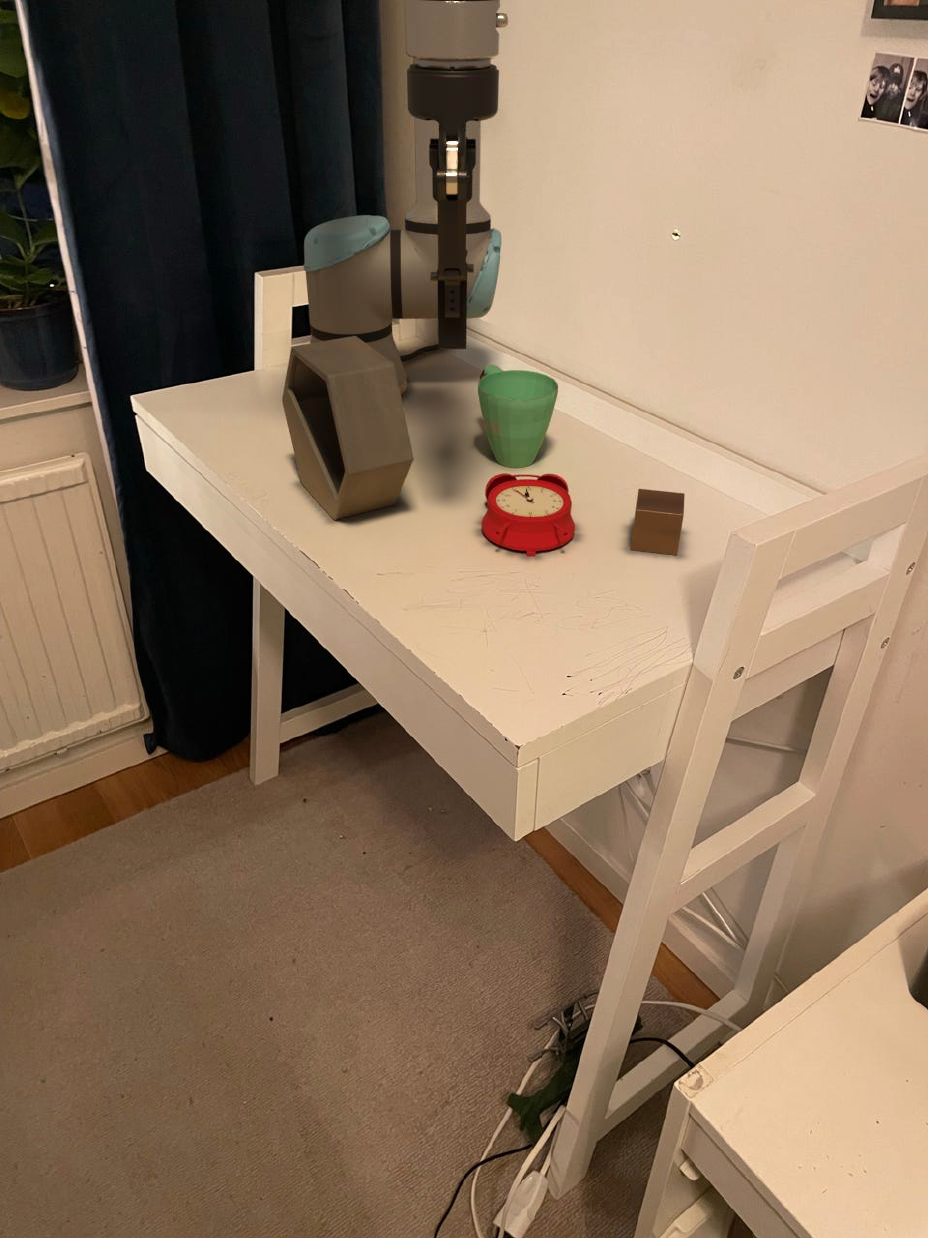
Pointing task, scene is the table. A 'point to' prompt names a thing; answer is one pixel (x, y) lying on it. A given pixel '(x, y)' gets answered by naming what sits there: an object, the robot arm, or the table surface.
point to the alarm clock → (528, 512)
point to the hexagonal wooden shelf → (347, 425)
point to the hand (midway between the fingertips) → (452, 345)
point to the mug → (516, 412)
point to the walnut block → (658, 521)
